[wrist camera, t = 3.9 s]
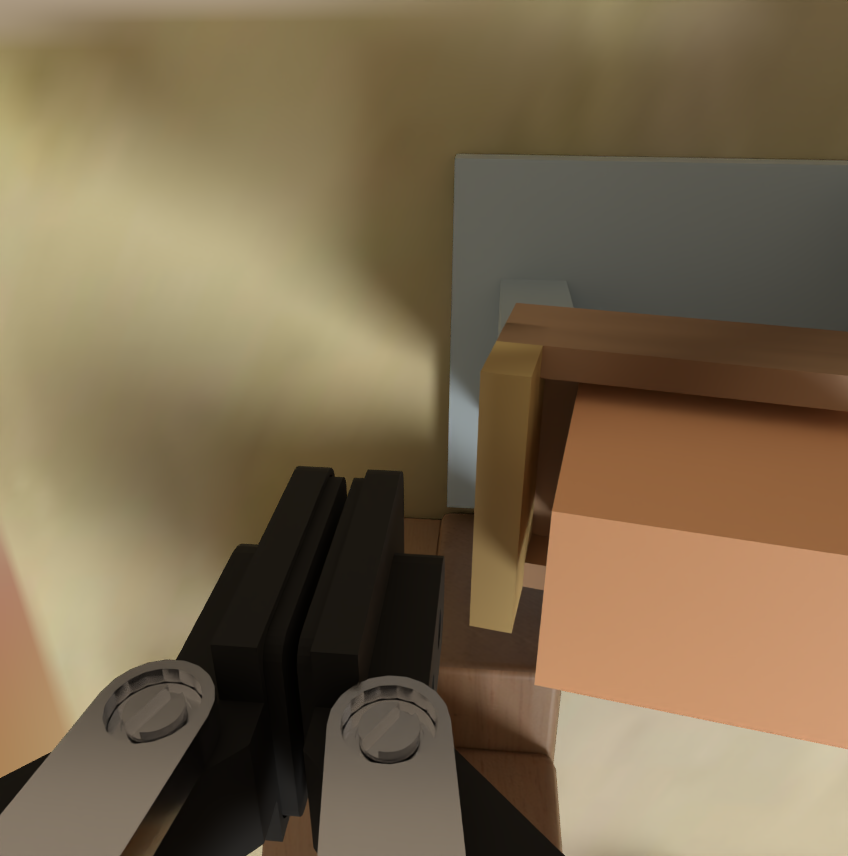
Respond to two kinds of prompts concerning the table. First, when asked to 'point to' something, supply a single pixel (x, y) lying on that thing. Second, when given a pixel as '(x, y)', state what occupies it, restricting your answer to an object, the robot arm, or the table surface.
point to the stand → (636, 252)
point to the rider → (702, 561)
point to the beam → (615, 366)
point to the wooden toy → (482, 690)
